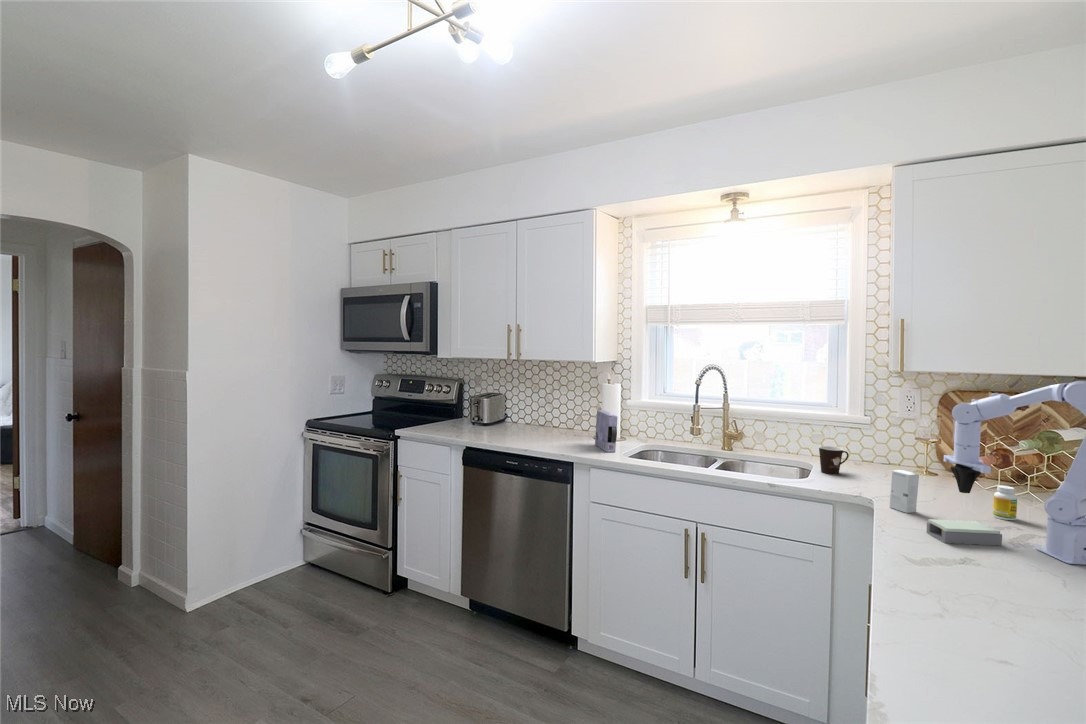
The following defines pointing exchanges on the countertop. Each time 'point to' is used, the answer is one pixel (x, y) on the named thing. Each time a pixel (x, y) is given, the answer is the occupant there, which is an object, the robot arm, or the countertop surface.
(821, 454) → the coffee mug
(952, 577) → the countertop surface
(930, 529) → the grey open tray
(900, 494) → the skincare box
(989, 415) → the robot arm
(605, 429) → the cake pan box
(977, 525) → the cover
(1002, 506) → the supplement bottle
